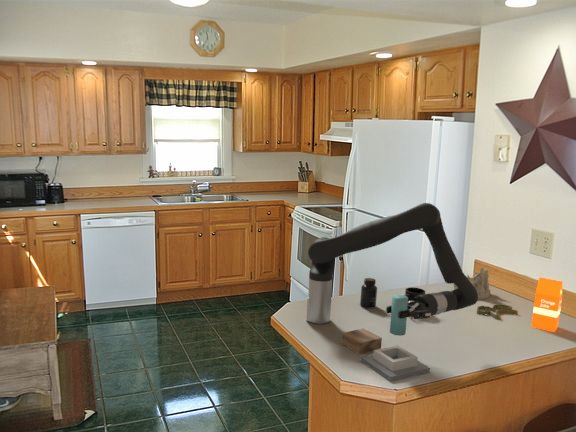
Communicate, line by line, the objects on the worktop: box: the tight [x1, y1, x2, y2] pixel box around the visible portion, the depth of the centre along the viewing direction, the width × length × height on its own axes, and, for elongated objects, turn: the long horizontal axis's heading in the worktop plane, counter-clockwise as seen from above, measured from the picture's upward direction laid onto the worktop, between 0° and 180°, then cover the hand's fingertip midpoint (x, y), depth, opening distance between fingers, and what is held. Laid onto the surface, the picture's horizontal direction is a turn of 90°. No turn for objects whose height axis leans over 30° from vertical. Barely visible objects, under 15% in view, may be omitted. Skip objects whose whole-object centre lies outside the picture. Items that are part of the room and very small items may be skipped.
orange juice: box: [530, 277, 564, 333], centre depth 222 cm, size 8×9×20 cm
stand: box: [340, 328, 383, 355], centre depth 197 cm, size 10×10×4 cm
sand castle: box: [452, 266, 491, 300], centre depth 263 cm, size 16×16×15 cm
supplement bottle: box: [359, 277, 378, 309], centre depth 239 cm, size 7×7×12 cm
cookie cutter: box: [476, 303, 519, 320], centre depth 239 cm, size 18×12×2 cm, turn 122°
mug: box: [403, 287, 426, 301], centre depth 233 cm, size 8×12×10 cm
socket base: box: [359, 345, 431, 382], centre depth 181 cm, size 16×16×4 cm
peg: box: [389, 294, 408, 337], centre depth 179 cm, size 5×5×12 cm
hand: (393, 312), depth 177 cm, fingers closed on peg, 5 cm apart
